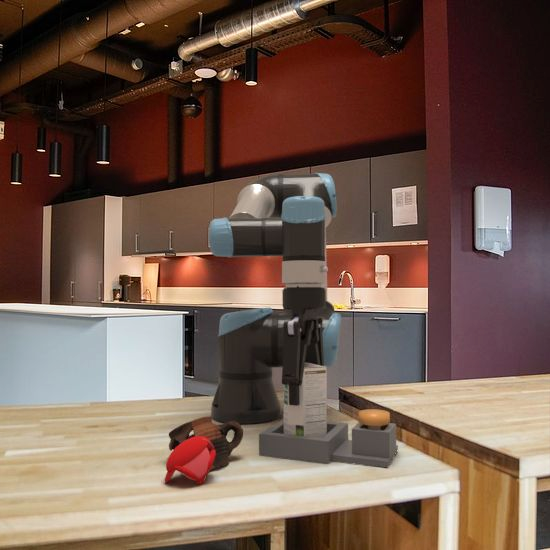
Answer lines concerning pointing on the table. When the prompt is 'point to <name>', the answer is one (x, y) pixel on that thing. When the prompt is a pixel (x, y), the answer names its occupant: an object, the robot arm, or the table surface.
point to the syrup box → (311, 403)
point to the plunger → (374, 418)
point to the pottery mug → (209, 437)
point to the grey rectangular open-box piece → (332, 444)
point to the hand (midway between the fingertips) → (304, 418)
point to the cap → (191, 459)
